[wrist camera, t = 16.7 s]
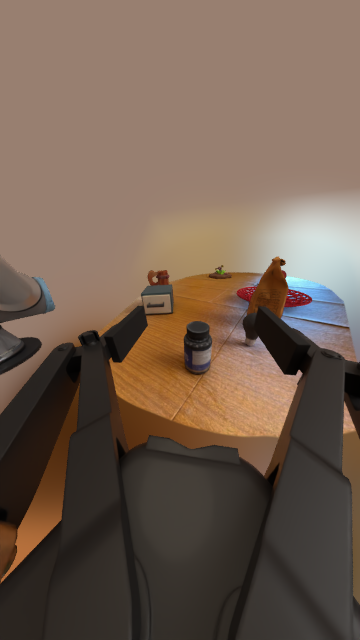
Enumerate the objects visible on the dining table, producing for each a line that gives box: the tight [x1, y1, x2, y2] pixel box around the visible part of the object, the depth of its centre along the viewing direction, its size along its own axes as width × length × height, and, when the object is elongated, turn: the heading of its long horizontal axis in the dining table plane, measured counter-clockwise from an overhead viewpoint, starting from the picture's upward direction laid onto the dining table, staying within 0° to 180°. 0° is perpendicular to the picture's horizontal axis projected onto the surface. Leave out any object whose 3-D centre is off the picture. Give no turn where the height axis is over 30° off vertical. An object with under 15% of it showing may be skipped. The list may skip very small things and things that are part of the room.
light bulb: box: [243, 313, 258, 346], centre depth 36 cm, size 6×6×10 cm
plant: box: [209, 265, 232, 279], centre depth 132 cm, size 20×20×11 cm
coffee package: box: [246, 257, 288, 318], centre depth 43 cm, size 10×12×22 cm
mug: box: [148, 270, 169, 286], centre depth 89 cm, size 15×8×15 cm, turn 105°
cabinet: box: [141, 285, 173, 315], centre depth 65 cm, size 15×13×10 cm
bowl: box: [237, 287, 312, 307], centre depth 64 cm, size 30×30×5 cm
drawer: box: [142, 294, 171, 314], centre depth 61 cm, size 18×12×8 cm, turn 1°
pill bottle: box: [184, 321, 212, 374], centre depth 30 cm, size 6×6×11 cm
